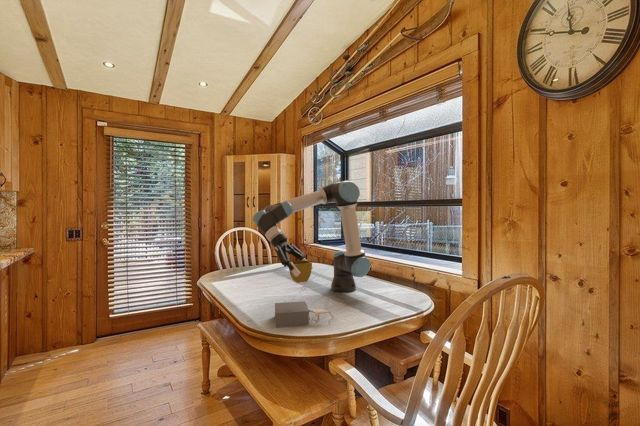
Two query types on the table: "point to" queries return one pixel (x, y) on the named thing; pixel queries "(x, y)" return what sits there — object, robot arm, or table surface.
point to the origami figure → (319, 311)
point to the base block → (291, 314)
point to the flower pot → (302, 271)
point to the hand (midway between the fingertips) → (304, 272)
